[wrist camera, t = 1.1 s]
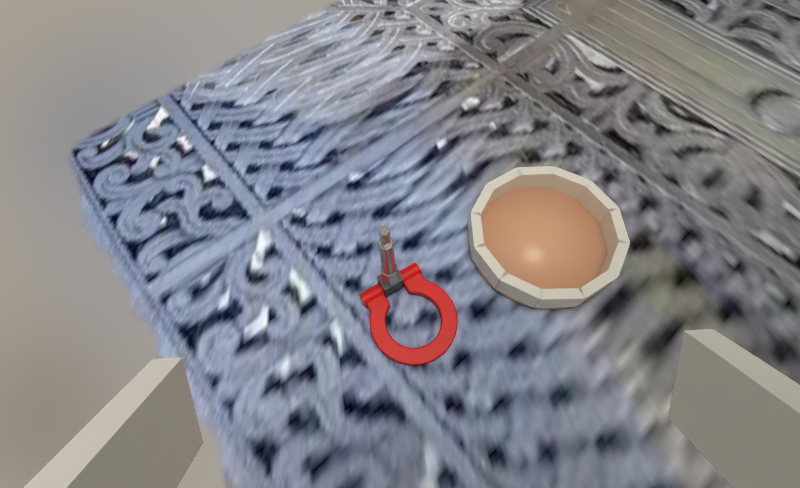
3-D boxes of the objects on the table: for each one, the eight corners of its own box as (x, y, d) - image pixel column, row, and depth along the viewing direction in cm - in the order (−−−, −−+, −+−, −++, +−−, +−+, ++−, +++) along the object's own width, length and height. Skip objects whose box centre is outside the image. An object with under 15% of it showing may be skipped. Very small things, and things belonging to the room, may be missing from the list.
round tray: (547, 164, 47) (556, 146, 44) (644, 262, 40) (661, 249, 38) (441, 222, 44) (443, 207, 41) (528, 338, 37) (537, 329, 35)
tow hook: (473, 336, 38) (421, 260, 42) (501, 297, 27) (426, 196, 30) (399, 383, 37) (351, 301, 40) (394, 364, 25) (328, 250, 28)
